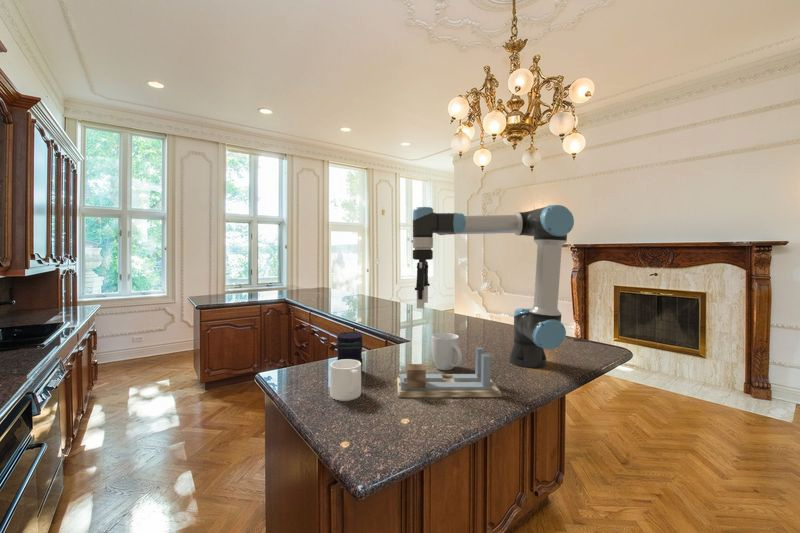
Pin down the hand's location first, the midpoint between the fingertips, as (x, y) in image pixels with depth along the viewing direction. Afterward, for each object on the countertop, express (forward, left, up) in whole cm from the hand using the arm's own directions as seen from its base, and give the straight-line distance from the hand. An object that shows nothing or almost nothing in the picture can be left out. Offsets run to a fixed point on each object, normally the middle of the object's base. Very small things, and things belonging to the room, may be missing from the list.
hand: (422, 305), depth 133 cm
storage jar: (+28, -2, -27) cm, 39 cm away
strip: (-6, +16, -26) cm, 31 cm away
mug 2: (-10, -7, -27) cm, 30 cm away
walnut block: (+4, +16, -24) cm, 29 cm away
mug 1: (+26, +19, -27) cm, 42 cm away
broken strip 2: (-16, +8, -25) cm, 31 cm away
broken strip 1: (+1, +8, -25) cm, 27 cm away
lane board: (-7, +12, -27) cm, 30 cm away
